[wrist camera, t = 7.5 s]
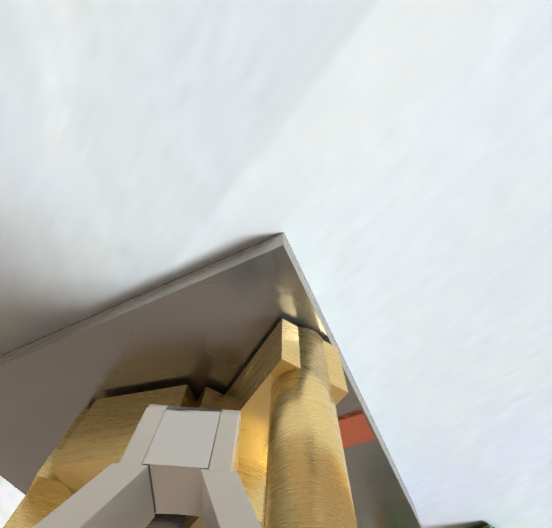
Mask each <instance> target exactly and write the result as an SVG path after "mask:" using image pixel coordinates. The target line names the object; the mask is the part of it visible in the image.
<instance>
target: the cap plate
mask: <svg viewBox="0 0 552 528" xmlns="http://www.w3.org/2000/svg"><path fill="white" fill-rule="evenodd" d="M281 319H284V320H286V321H288V322H290V323H292V324H294V325H296V326H297V327H306V328H309V329H312V330H314V331H315V332H317V333H318V334H319V335H320V336H321V338H322V339H323V340H324V341H326V342H327V343H329V344H331V345H333V346H335V347H337V348H338V351H339V355H340V359H341V364H342V368H343V372H344V376H345V380H346V384H347V389H348V393H347V394H346V396H345V397H344V398H343V399H342V400H341V401H340V402H339V403H338V404H337V405H336V412H337V417H338V422H339V428H340V433H341V439H342V444H343V450H344V455H345V461H346V466H347V472H348V477H349V483H350V488H351V494H352V499H353V505H354V510H355V516H356V521H357V527H358V528H422V527H421V524H420V521H419V519H418V516H417V513H416V510H415V507H414V504H413V502H412V500H411V498H410V496H409V494H408V492H407V489H406V487H405V485H404V483H403V481H402V479H401V477H400V475H399V473H398V471H397V469H396V466H395V464H394V462H393V460H392V458H391V456H390V454H389V452H388V450H387V448H386V446H385V443H384V441H383V439H382V437H381V435H380V433H379V431H378V429H377V427H376V425H375V423H374V421H373V418H372V416H371V414H370V412H369V410H368V408H367V406H366V404H365V402H364V400H363V398H362V395H361V393H360V391H359V389H358V387H357V385H356V383H355V381H354V379H353V377H352V375H351V372H350V370H349V368H348V366H347V364H346V362H345V360H344V358H343V356H342V354H341V352H340V349H339V347H338V345H337V343H336V341H335V339H334V337H333V335H332V333H331V331H330V329H329V327H328V324H327V322H326V320H325V318H324V316H323V314H322V312H321V310H320V308H319V306H318V304H317V301H316V299H315V297H314V295H313V293H312V291H311V289H310V287H309V285H308V283H307V281H306V278H305V276H304V274H303V272H302V270H301V268H300V266H299V264H298V262H297V260H296V258H295V255H294V253H293V251H292V249H291V247H290V245H289V243H288V241H287V239H286V237H285V235H284V233H281V234H279V235H277V236H274V237H272V238H270V239H268V240H265V241H263V242H261V243H258V244H256V245H254V246H252V247H249V248H247V249H245V250H242V251H240V252H238V253H236V254H233V255H231V256H229V257H226V258H224V259H222V260H219V261H217V262H215V263H213V264H210V265H208V266H206V267H203V268H201V269H199V270H197V271H194V272H192V273H190V274H187V275H185V276H183V277H181V278H178V279H176V280H174V281H171V282H169V283H167V284H165V285H162V286H160V287H158V288H155V289H153V290H151V291H149V292H146V293H144V294H142V295H139V296H137V297H135V298H133V299H130V300H128V301H126V302H123V303H121V304H119V305H117V306H114V307H112V308H110V309H107V310H105V311H103V312H101V313H98V314H96V315H94V316H91V317H89V318H87V319H84V320H82V321H80V322H78V323H75V324H73V325H71V326H68V327H66V328H64V329H62V330H59V331H57V332H55V333H52V334H50V335H48V336H46V337H43V338H41V339H39V340H36V341H34V342H32V343H30V344H27V345H25V346H23V347H20V348H18V349H16V350H14V351H11V352H9V353H7V354H4V355H2V356H0V475H1V476H2V477H3V478H4V479H6V480H7V481H8V482H10V483H11V484H12V485H14V486H15V487H16V488H17V489H19V490H20V491H21V492H23V493H24V494H25V495H26V494H27V493H28V491H29V489H30V487H31V485H32V483H33V480H34V478H35V476H36V474H37V473H38V471H39V470H40V469H41V467H42V466H43V464H44V463H45V462H46V460H47V459H48V457H49V456H50V455H51V453H52V452H53V450H54V449H55V448H56V446H57V445H58V443H59V442H60V441H61V439H62V438H63V436H64V435H65V434H66V432H67V431H68V429H69V428H70V427H71V425H72V424H73V422H74V421H75V420H76V418H77V417H78V415H79V414H80V413H81V411H82V410H83V408H84V407H86V408H89V409H90V408H91V406H92V405H93V403H94V402H95V401H96V399H102V398H108V397H114V396H120V395H126V394H133V393H139V392H145V391H151V390H157V389H163V388H169V387H175V386H181V385H187V384H188V386H189V388H190V390H191V392H192V394H193V396H194V398H195V400H196V401H197V400H198V398H199V397H200V395H201V394H202V393H203V391H204V390H205V388H206V387H208V388H210V389H212V390H214V391H217V392H219V393H221V394H223V395H225V394H226V393H227V391H228V390H229V389H230V387H231V386H232V385H233V383H234V382H235V381H236V379H237V378H238V377H239V375H240V374H241V373H242V371H243V370H244V369H245V367H246V366H247V365H248V363H249V362H250V361H251V359H252V358H253V357H254V355H255V354H256V353H257V351H258V350H259V349H260V347H261V346H262V345H263V343H264V342H265V341H266V339H267V338H268V337H269V335H270V334H271V333H272V331H273V330H274V329H275V327H276V326H277V325H278V323H279V322H280V321H281ZM185 518H186V515H180V514H155V517H154V518H153V519H152V520H151V522H150V523H149V524H148V525H147V527H146V528H183V526H184V522H185Z"/></svg>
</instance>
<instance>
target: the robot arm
mask: <svg viewBox="0 0 552 528" xmlns="http://www.w3.org/2000/svg"><path fill="white" fill-rule="evenodd" d="M240 433H241V411H238V410H223V409H212V408H194V407H179V406H168V405H156V404H150V405H149V406H148V407H147V408H146V409H145V411H144V413H143V415H142V417H141V419H140V421H139V423H138V425H137V427H136V429H135V431H134V433H133V435H132V437H131V439H130V441H129V443H128V445H127V447H126V449H125V451H124V453H123V455H122V457H121V459H120V461H119V463H112V464H110V465H109V466H108V467H107V468H105V469H104V470H103V471H102V472H101V473H99V474H98V475H97V476H96V477H94V478H93V479H92V480H91V481H89V482H88V483H87V484H86V485H84V486H83V487H82V488H81V489H80V490H78V491H77V492H76V493H75V494H73V495H72V496H71V497H70V498H68V499H67V500H66V501H65V502H63V503H62V504H61V505H60V506H59V507H57V508H56V509H55V510H54V511H52V512H51V513H50V514H49V515H47V516H46V517H45V518H44V519H42V520H41V521H40V522H39V523H38V524H36V525H35V526H34V527H33V528H146V527H147V525H148V524H149V523H150V522H151V520H152V519H153V518H154V517H155V514H180V515H190V516H200V517H203V519H204V523H205V527H206V528H261V525H260V523H259V521H258V518H257V516H256V514H255V511H254V509H253V507H252V505H251V502H250V500H249V498H248V495H247V493H246V491H245V488H244V486H243V484H242V481H241V479H240V477H239V474H238V472H237V468H238V461H239V448H240Z"/></svg>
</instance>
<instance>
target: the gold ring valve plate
mask: <svg viewBox="0 0 552 528" xmlns="http://www.w3.org/2000/svg"><path fill="white" fill-rule="evenodd" d="M347 393H348V389H347V384H346V380H345V376H344V372H343V368H342V364H341V359H340V355H339V351H338V348H337V347H335V346H333V345H331V344H329V343H327V342H326V341H324V340H323V339H322V338H321V336H320V335H319V334H318V333H317V332H315V331H314V330H312V329H309V328H306V327H297V326H296V325H294V324H292V323H290V322H288V321H286V320H284V319H281V321H280V322H279V323H278V325H277V326H276V327H275V329H274V330H273V331H272V333H271V334H270V335H269V337H268V338H267V339H266V341H265V342H264V343H263V345H262V346H261V347H260V349H259V350H258V351H257V353H256V354H255V355H254V357H253V358H252V359H251V361H250V362H249V363H248V365H247V366H246V367H245V369H244V370H243V371H242V373H241V374H240V375H239V377H238V378H237V379H236V381H235V382H234V383H233V385H232V386H231V387H230V389H229V390H228V391H227V393H226V394H225V395H223V394H221V393H219V392H217V391H214V390H212V389H210V388H208V387H206V388H205V390H204V391H203V393H202V394H201V395H200V397H199V398H198V400H197V401H196V400H195V398H194V396H193V394H192V392H191V390H190V388H189V386H188V384H187V385H181V386H175V387H169V388H163V389H157V390H151V391H145V392H139V393H133V394H126V395H120V396H114V397H108V398H102V399H96V401H95V402H94V403H93V405H92V406H91V408H90V409H89V408H86V407H84V408H83V410H82V411H81V413H80V414H79V415H78V417H77V418H76V420H75V421H74V422H73V424H72V425H71V427H70V428H69V429H68V431H67V432H66V434H65V435H64V436H63V438H62V439H61V441H60V442H59V443H58V445H57V446H56V448H55V449H54V450H53V452H52V453H51V455H50V456H49V457H48V459H47V460H46V462H45V463H44V464H43V466H42V467H41V469H40V470H39V471H38V473H37V474H36V476H35V478H34V480H33V483H32V485H31V487H30V489H29V491H28V493H27V494H26V496H25V497H24V499H23V500H22V502H21V503H20V504H19V506H18V507H17V509H16V510H15V512H14V513H13V514H12V516H11V517H10V519H9V520H8V522H7V523H6V524H5V526H4V527H3V528H33V527H34V526H35V525H36V524H38V523H39V522H40V521H41V520H42V519H44V518H45V517H46V516H47V515H49V514H50V513H51V512H52V511H54V510H55V509H56V508H57V507H59V506H60V505H61V504H62V503H63V502H65V501H66V500H67V499H68V498H70V497H71V496H72V495H73V494H75V493H76V492H77V491H78V490H80V489H81V488H82V487H83V486H84V485H86V484H87V483H88V482H89V481H91V480H92V479H93V478H94V477H96V476H97V475H98V474H99V473H101V472H102V471H103V470H104V469H105V468H107V467H108V466H109V465H110V464H112V463H119V461H120V459H121V457H122V455H123V453H124V451H125V449H126V447H127V445H128V443H129V441H130V439H131V437H132V435H133V433H134V431H135V429H136V427H137V425H138V423H139V421H140V419H141V417H142V415H143V413H144V411H145V409H146V408H147V407H148V406H149V405H150V404H156V405H168V406H179V407H194V408H212V409H223V410H238V411H241V433H240V448H239V461H238V468H237V472H238V474H239V477H240V479H241V481H242V484H243V486H244V488H245V491H246V493H247V495H248V498H249V500H250V502H251V505H252V507H253V509H254V511H255V514H256V516H257V518H258V521H259V523H260V525H261V528H358V527H357V521H356V516H355V510H354V505H353V499H352V494H351V488H350V483H349V477H348V472H347V466H346V461H345V455H344V450H343V444H342V439H341V433H340V428H339V422H338V417H337V412H336V405H337V404H338V403H339V402H340V401H341V400H342V399H343V398H344V397H345V396H346V394H347ZM183 528H206V527H205V523H204V519H203V517H200V516H190V515H186V518H185V522H184V526H183Z"/></svg>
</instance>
